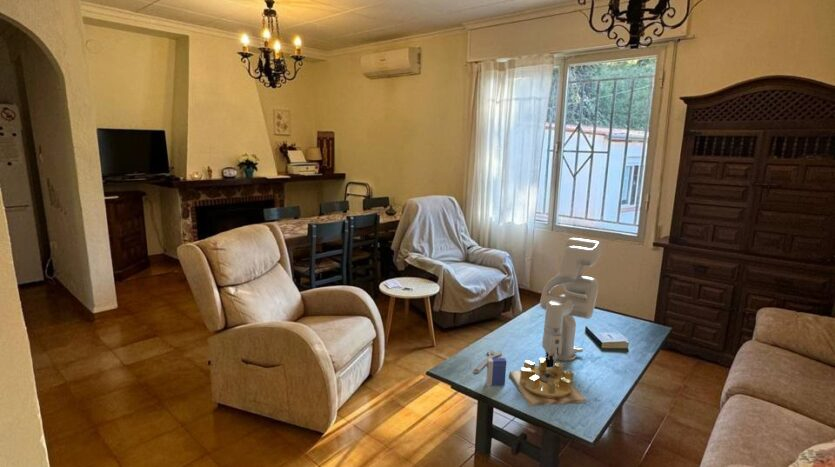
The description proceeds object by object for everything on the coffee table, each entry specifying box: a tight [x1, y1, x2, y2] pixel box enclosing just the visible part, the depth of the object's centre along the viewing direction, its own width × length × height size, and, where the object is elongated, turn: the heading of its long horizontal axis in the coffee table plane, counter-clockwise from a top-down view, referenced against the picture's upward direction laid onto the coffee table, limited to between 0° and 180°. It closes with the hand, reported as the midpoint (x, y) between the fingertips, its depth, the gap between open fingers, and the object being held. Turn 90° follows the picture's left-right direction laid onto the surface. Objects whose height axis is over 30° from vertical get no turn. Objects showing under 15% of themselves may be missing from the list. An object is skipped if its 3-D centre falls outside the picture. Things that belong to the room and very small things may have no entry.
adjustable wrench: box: [473, 349, 503, 374], centre depth 212 cm, size 25×6×2 cm, turn 142°
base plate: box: [509, 370, 586, 407], centre depth 191 cm, size 24×24×2 cm
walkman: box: [485, 357, 507, 387], centre depth 192 cm, size 8×3×12 cm, turn 96°
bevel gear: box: [520, 357, 575, 399], centre depth 190 cm, size 22×22×6 cm
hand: (549, 366), depth 199 cm, fingers closed
